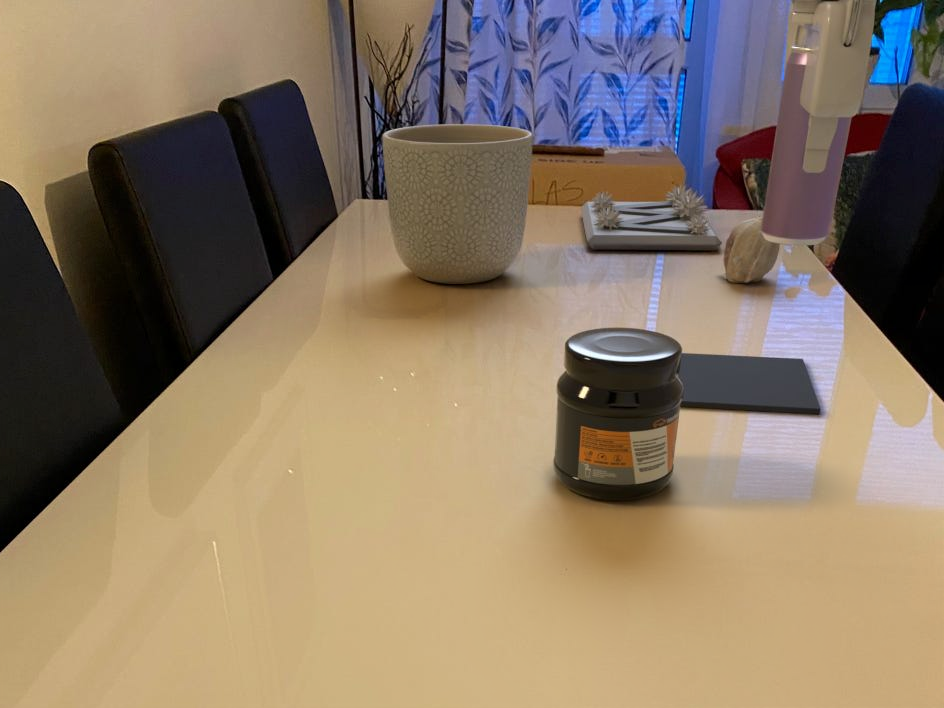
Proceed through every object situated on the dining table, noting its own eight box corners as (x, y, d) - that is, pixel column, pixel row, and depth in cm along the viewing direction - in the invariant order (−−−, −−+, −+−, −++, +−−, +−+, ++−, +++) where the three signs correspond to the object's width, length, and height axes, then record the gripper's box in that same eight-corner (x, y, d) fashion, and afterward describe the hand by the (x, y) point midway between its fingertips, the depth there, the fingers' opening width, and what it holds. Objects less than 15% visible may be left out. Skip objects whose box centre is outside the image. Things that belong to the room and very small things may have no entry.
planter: (361, 272, 149) (353, 131, 138) (470, 252, 159) (470, 120, 149) (443, 301, 135) (441, 148, 125) (557, 278, 146) (563, 134, 135)
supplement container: (665, 511, 82) (682, 369, 75) (540, 497, 84) (546, 358, 77) (677, 462, 90) (694, 330, 84) (564, 450, 93) (571, 320, 86)
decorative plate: (580, 215, 184) (582, 173, 180) (696, 215, 183) (701, 173, 179) (586, 252, 159) (589, 204, 156) (721, 253, 158) (727, 205, 154)
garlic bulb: (743, 289, 149) (759, 219, 146) (787, 292, 142) (805, 218, 140) (699, 277, 144) (716, 204, 141) (743, 279, 137) (761, 202, 134)
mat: (802, 363, 113) (803, 358, 113) (819, 414, 100) (820, 408, 100) (677, 357, 115) (678, 352, 115) (678, 406, 102) (679, 401, 102)
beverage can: (818, 249, 86) (855, 49, 78) (751, 242, 89) (780, 47, 80) (835, 236, 90) (871, 45, 82) (770, 229, 93) (799, 43, 85)
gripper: (908, -27, 70) (865, 186, 77) (859, -27, 86) (827, 148, 94) (816, -27, 70) (782, 184, 78) (785, -26, 87) (759, 147, 95)
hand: (806, 164), depth 86 cm, fingers closed on beverage can, 6 cm apart
